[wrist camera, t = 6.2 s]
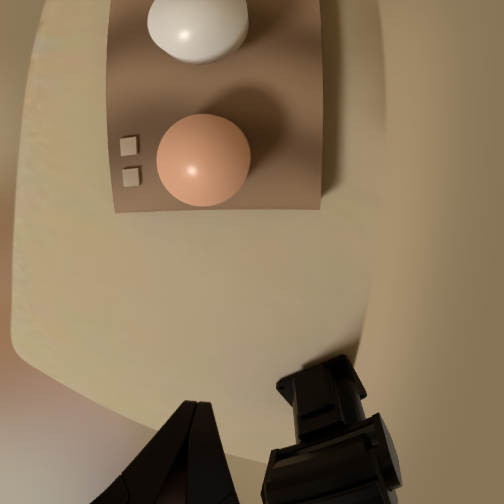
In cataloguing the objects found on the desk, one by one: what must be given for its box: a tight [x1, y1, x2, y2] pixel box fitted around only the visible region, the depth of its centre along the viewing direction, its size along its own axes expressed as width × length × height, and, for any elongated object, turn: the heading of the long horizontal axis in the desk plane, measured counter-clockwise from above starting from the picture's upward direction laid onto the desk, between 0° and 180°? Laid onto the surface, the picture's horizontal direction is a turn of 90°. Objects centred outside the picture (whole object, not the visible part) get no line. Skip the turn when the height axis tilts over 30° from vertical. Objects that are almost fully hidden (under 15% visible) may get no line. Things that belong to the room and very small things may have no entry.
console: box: [106, 0, 323, 213], centre depth 13 cm, size 20×12×2 cm, turn 1°
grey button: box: [148, 0, 249, 65], centre depth 11 cm, size 4×4×2 cm
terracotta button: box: [157, 114, 251, 207], centre depth 14 cm, size 4×4×2 cm
